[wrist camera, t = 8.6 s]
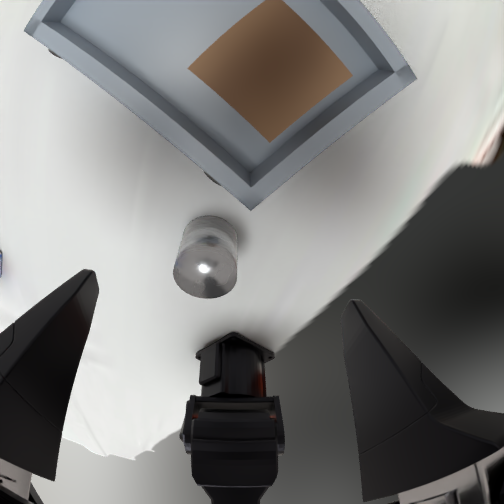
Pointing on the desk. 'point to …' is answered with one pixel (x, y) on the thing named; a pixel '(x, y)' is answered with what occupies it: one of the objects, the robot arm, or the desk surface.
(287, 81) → the walnut block
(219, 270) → the steel cylinder
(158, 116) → the tray
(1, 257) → the ink cartridge box
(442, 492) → the robot arm
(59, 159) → the desk surface
